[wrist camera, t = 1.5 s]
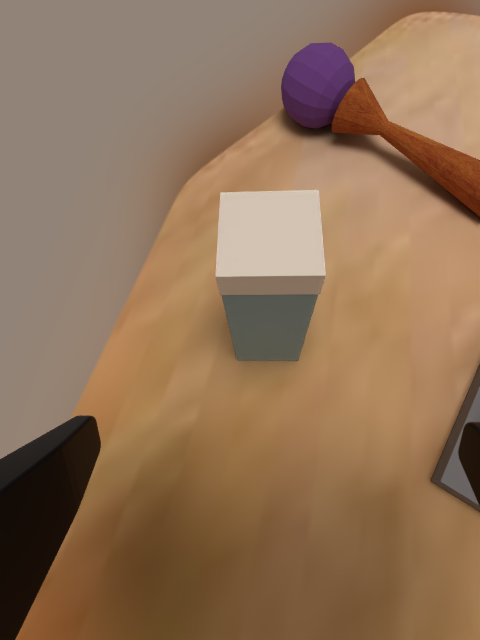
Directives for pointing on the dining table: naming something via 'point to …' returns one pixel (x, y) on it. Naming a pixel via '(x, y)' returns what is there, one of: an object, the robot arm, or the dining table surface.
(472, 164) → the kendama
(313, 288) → the box with white lid
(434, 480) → the board
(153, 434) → the dining table surface
